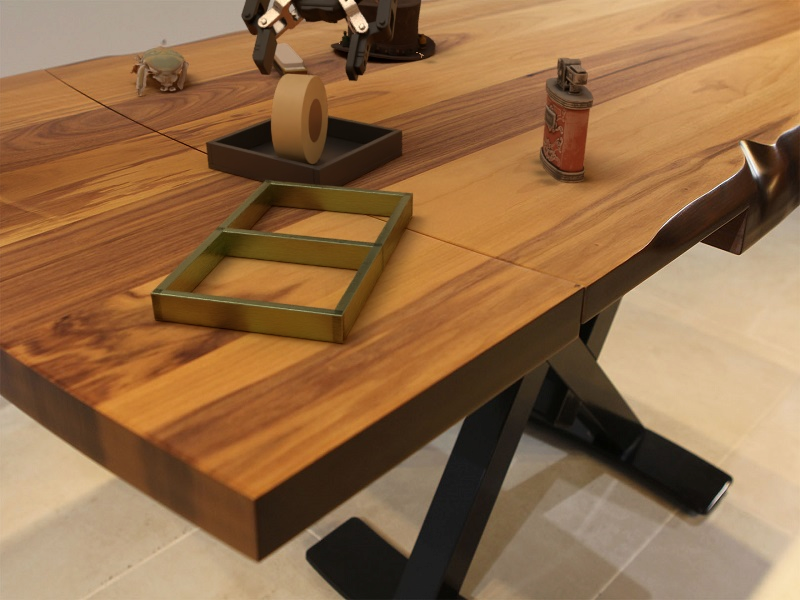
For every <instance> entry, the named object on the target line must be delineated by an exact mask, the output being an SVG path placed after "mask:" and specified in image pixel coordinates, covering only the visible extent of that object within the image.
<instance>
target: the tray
mask: <svg viewBox="0 0 800 600" xmlns="http://www.w3.org/2000/svg"><path fill="white" fill-rule="evenodd" d="M205 147H206V157H207V167H208V169H212V170H216V171H219V172H223V173H227V174H231V175H235V176H238V177H243V178H246V179H250V180H254V181H258V182H262V183H263V182H264V181H265V180H271V181H281V182H292V183H304V184H315V185H326V186H337V187H343V186H344V185H346V184H348V183H350V182H352V181H354V180H356V179H358V178H360V177H362V176H363V175H366V174H368V173H370V172H371V171H373V170H376V169H378V168H380V167H381V166H383V165H386V164H387V163H389V162H391V161H393V160H395V159H397V158H399V157H401V156H402V155H403V130H402V129H397V128H393V127H387V126H383V125H378V124H372V123H367V122H363V121H358V120H353V119H348V118H343V117H339V116H333V115H329V114H328V125H327V134H326V140H325V144H324V148H323V151H322V154H321V156H320V158H319V160H318V161H317V162H316V163H315V164H305V163H300V162H296V161H292V160H288V159H284V158H280V157H277V155H276V152H275V149H274V146H273V141H272V132H271V117H270V118H267V119H265V120H262V121H259V122H256V123H254V124H251V125H248V126H245V127H243V128H241V129H238V130H235V131H232V132H230V133H227V134H225V135H222V136H219V137H216V138H214V139H211V140H208V141H206V142H205Z"/></svg>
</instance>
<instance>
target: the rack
mask: <svg viewBox="0 0 800 600" xmlns="http://www.w3.org/2000/svg"><path fill="white" fill-rule="evenodd" d="M273 206H276V207H285V208H298V209H306V210H319V211H328V212H339V213H349V214H360V215H370V216H380V217H388V220H387V221H386V222H385V224H384V226H383V228H382V229H381V231H380V233H379V234H378V236H377V238H376V239H375V241H374V242H371V241H361V240H352V239H340V238H331V237H321V236H311V235H300V234H293V233H281V232H272V231H262V230H251V229H252V228H253V227H254V225H255V224H256V223H257V222H258V221H259V220H260V219H261V218H262V217H263V216H264V215H265V213H267V212H268V210H270V209H271V207H273ZM413 206H414V194H413V192H403V191H392V190H380V189H370V188H358V187H348V186H347V187H346V186H340V187H337V186H326V185H315V184H304V183H292V182H281V181H271V180H265V181H264V182H262V183H261V184H260V185H259V186H258V187H257V188H256V189H255V190H254V191H253V192H252V193H251V194H250V195H249V196H248V197H247V198H246V199H245V200H244V201H243V202H241V204H240V205H238V207H236V209H235V210H233V212H231V213H230V214H229V215H228V216H227V217H226V218H225V220H223V221H222V222H221V223H220V224H219V225H218V226H217V227H216V228H215V229H214V230H213V231H212V232H211V233H210V234H209V235H208V236H207V237H206V238H205V239H204V240H203V241H202V242H201V243H200V244H199V245H198V246H197V247H195V249H193V251H192V252H191V253H190V254H189V255H187V257H186V258H185V259H183V260H182V261H181V262H180V264H178V266H176V267H175V268H174V269H173V271H171V273H169V274H168V275H167V276H166V277H165V278H164V279H163V280H162V281H161V282H160V283H159V284H158V285H157V286H156V287H155V288H154V289H153V290H152V291H151V292H150V299H151V305H152V311H153V313H152V314H153V318H154V321H159V322H160V321H162V322H169V323H171V322H172V323H179V324H187V325H195V326H201V327H211V328H218V329H227V330H233V331H242V332H249V333H250V332H251V333H258V334H267V335H272V336H273V335H274V336H282V337H289V338H297V339H305V340H314V341H322V342H331V343H335V344H344V342H345V340H346V338H347V336H348V335H349V333H350V331H351V329H352V327H353V326H354V324H355V322H356V321H357V318H358V316H359V315H360V313H361V312H362V309H363V307H364V305H365V303H366V302H367V300H368V298H369V296H370V294H371V292H372V290H373V289H374V287H375V285H376V283H377V281H378V279H379V278H380V276H381V274H382V272H383V270H384V268H385V267H386V264H387V263H388V261H389V259H390V257H391V255H392V254H393V252H394V251H395V248H396V247H397V245H398V242H399V241H400V239H401V238H402V235H403V234H404V232H405V230H406V228H407V226H408V224H409V223H410V221H411V219H412V217H413V212H414V211H413V210H414V209H413V208H414V207H413ZM225 256H226V257H228V256H229V257H237V258H244V259H245V258H247V259H253V260H254V259H255V260H265V261H274V262H284V263H291V264H292V263H293V264H301V265H311V266H318V267H319V266H320V267H329V268H336V269H337V268H338V269H339V268H340V269H347V270H348V269H349V270H355V271H356V270H357V271H356V273H355V275H354V276H353V278H352V279H351V281H350V283H349V285H348V286H347V288H346V290H345V292H344V293H343V295H342V296H341V298H340V300H339V301H338V303H337V305H336V306H335V308H334V309H332V308H325V307H315V306H308V305H307V306H306V305H298V304H289V303H283V302H274V301H273V302H272V301H264V300H256V299H249V298H238V297H230V296H223V295H222V296H221V295H215V294H214V295H213V294H207V293H197V292H193V291H194V289H195V288H196V287H198V286H199V284H200V283H201V282H202V281H203V280H205V278H206V277H207V276H208V274H210V273H211V272H212V270H213V269H214V268H215V267H216V266H217V265H218V264H219V263H220V262H221V261H222V260H223V259H224V258H225Z"/></svg>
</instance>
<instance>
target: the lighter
mask: <svg viewBox="0 0 800 600" xmlns="http://www.w3.org/2000/svg"><path fill="white" fill-rule="evenodd" d="M556 64H557V65H556V70H557V72H556V73H557V74H556V75H557V76H556V77H549V78H547V79H546V80H545V91H546V103H545V109H544V125H543V136H542V146H540V149H539V161H540V163H541V166H542V168H543V169H544V170H545V171H546V172H547V173H548V174H549V175H550V176H551V177H553V178H554V179H555V180H557V181H558V182H563V183H580V182H583V181H584V180H585V175H586V167H585V165H584V163H585V155H586V146H587V138H588V137H587V136H588V127H589V119H590V110H591V109H592V108H593V105H594V96H593V94H592V92H591V91H590V90H589V89H588V88H587V87H586V86H588V78H589V77H588V76H589V72H588V71H587V69H585V68H584V67H583V66H582V61H581V59H580V58H570V57H558V58H557V63H556Z"/></svg>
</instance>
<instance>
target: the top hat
mask: <svg viewBox="0 0 800 600" xmlns="http://www.w3.org/2000/svg"><path fill="white" fill-rule="evenodd" d="M421 6H422V0H397V8H396V16H395V25H394V33H393V39H392V40H391V41H390V42H388V43H384V42H382V41H379V42H375V43H374V44H372V45H371V47H370V51H369V56H368V57H373V58H381V59H388V60H397V61H419V60H420V61H421V60H424V59H427V58H429V57H431V56H432V55H433V54H434V53H435V51H436V43H435V40H434V39H432V38H431V37H430V36H427V35H426V34H424V33H419V22H420V21H419V20H420V13H421ZM358 8H359V10H360V12H361V14H362V15H363V17H364V18H365V20H366V22H367V23H371V22H375V21H376V16H377V9H378V2H376V0H363V1H362V2H361V3H360V4H359V5H358ZM342 34H343V35H342V36H341V40H340V41H339V42H335V43H332V44H330V48H332V49H334V50H338V51H342V52H346V53H348V51H349V47H350V42H351V37H352V34H354V33H353V32H352V30H351V29H350V27H349V25H348V24H347V30H343V32H342ZM339 43H340V44H339ZM416 52H418V53H416ZM419 53H421V54H423V55H424V56H422V58H421V55H420V54H419Z"/></svg>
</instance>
